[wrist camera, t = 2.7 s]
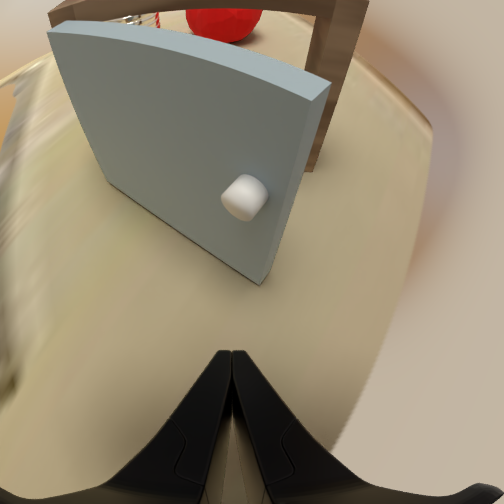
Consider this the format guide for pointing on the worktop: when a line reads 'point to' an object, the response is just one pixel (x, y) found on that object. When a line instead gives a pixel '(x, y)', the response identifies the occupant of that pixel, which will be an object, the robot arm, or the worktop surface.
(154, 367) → the worktop surface
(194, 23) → the tomato
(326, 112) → the cabinet frame
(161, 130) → the door
